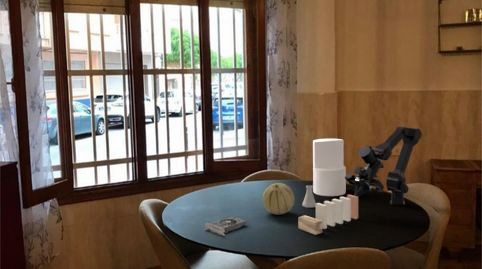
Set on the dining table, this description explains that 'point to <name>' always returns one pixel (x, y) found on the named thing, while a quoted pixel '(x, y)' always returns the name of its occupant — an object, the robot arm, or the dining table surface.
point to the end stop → (310, 224)
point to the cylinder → (329, 167)
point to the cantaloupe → (278, 198)
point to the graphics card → (225, 225)
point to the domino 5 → (354, 206)
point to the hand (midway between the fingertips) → (355, 197)
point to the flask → (309, 198)
